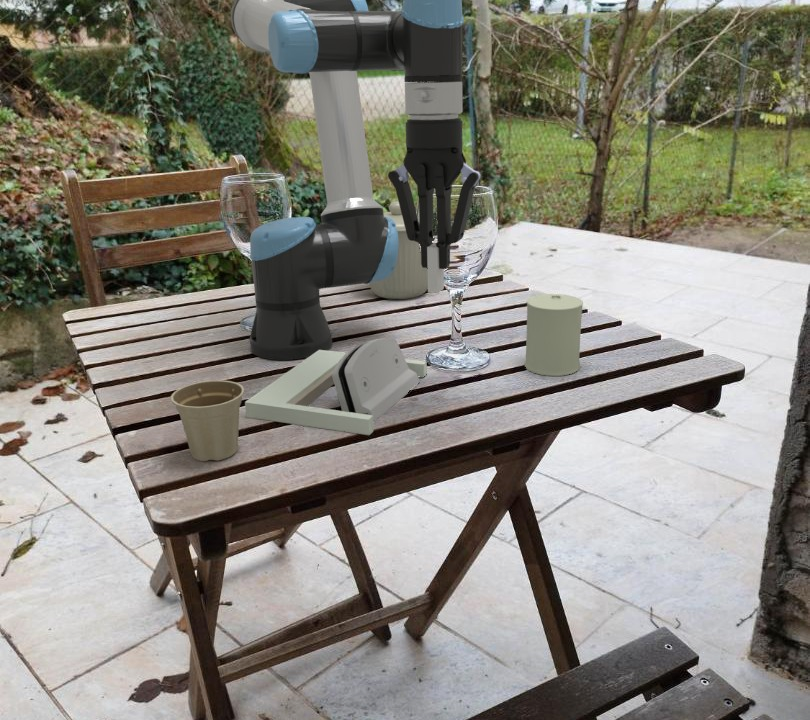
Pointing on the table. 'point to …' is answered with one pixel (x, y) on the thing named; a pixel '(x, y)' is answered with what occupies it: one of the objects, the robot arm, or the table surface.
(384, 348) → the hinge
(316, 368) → the beige flat angled piece
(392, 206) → the canister
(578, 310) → the can
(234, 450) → the flower pot
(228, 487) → the table surface
